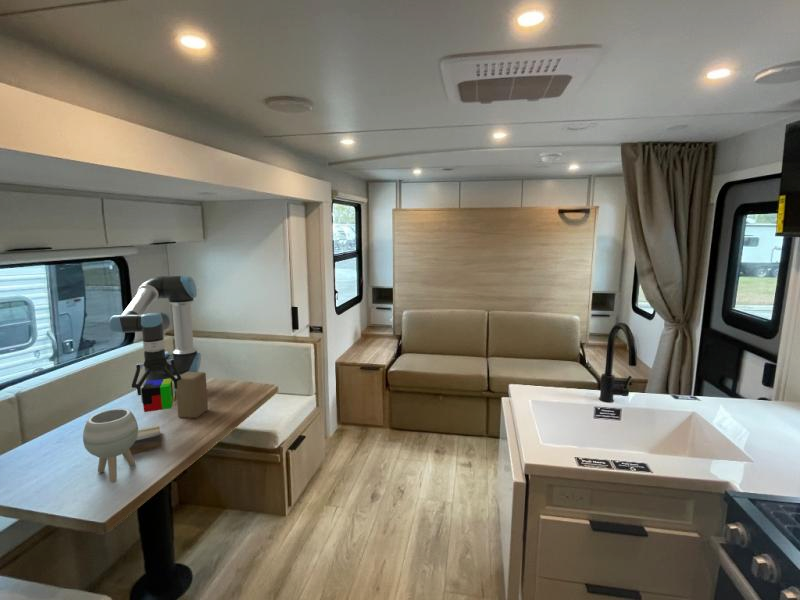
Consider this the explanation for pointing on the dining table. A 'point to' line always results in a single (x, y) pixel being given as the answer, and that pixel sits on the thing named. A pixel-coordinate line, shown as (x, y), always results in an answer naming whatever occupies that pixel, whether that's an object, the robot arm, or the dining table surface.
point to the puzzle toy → (157, 395)
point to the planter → (111, 438)
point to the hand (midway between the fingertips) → (158, 398)
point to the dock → (147, 440)
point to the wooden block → (192, 395)
